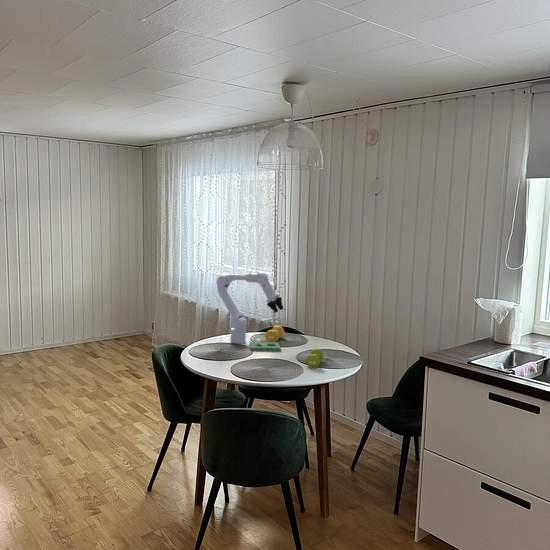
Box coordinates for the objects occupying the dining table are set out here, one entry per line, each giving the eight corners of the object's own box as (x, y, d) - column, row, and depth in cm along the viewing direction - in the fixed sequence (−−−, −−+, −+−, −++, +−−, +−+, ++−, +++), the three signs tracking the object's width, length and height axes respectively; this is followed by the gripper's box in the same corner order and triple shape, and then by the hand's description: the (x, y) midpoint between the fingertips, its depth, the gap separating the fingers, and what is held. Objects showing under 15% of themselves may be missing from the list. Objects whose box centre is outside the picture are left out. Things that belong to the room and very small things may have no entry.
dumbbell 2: (272, 336, 343) (272, 324, 342) (285, 337, 340) (285, 325, 339) (263, 342, 324) (264, 330, 324) (277, 344, 322) (277, 331, 321)
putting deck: (250, 350, 303) (250, 347, 303) (249, 345, 317) (249, 341, 316) (280, 351, 305) (280, 348, 304) (278, 345, 319) (278, 342, 318)
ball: (255, 345, 308) (255, 339, 308) (255, 344, 312) (255, 338, 311) (261, 345, 309) (261, 339, 308) (261, 344, 312) (261, 338, 312)
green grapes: (310, 359, 290) (310, 347, 289) (324, 361, 288) (324, 348, 287) (304, 367, 274) (305, 354, 273) (319, 369, 272) (319, 356, 271)
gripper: (269, 290, 305) (279, 310, 304) (278, 286, 318) (289, 305, 317) (259, 295, 308) (270, 315, 307) (270, 291, 321) (280, 310, 321)
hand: (279, 310), depth 313 cm, fingers open, 7 cm apart
